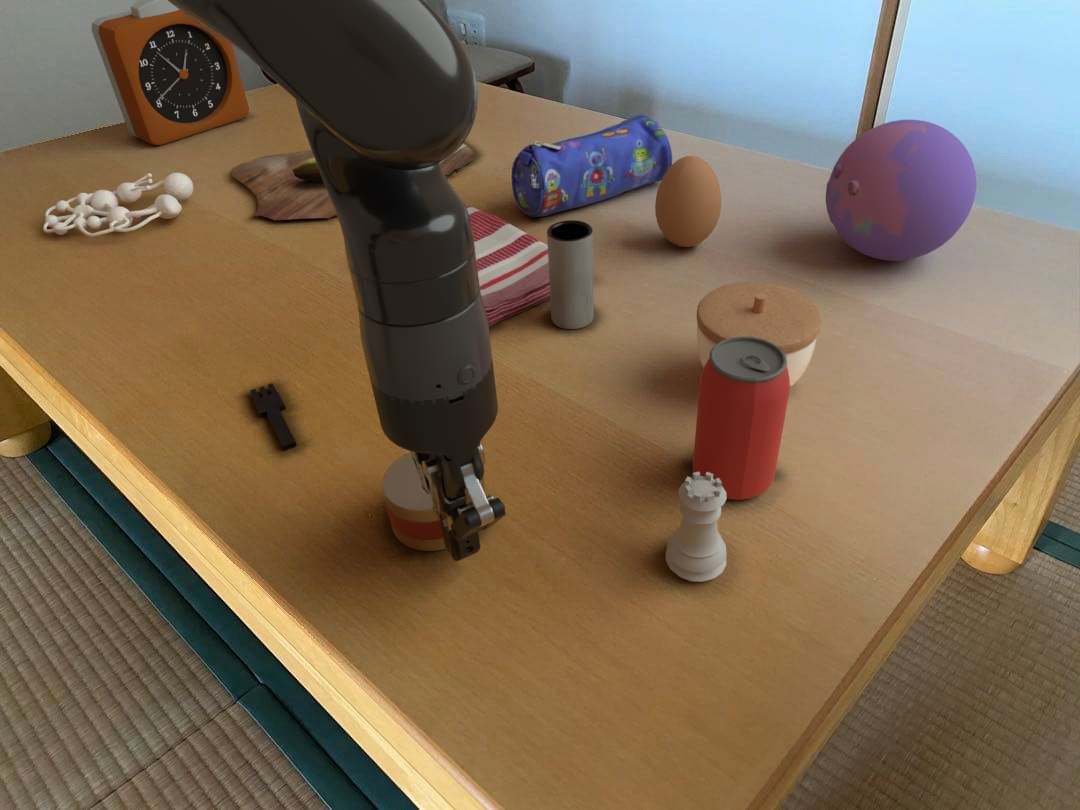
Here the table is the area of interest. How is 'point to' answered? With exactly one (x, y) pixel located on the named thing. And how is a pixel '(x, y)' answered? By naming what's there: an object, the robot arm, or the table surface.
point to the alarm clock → (169, 72)
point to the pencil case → (590, 167)
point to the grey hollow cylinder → (571, 273)
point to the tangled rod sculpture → (118, 216)
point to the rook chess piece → (698, 531)
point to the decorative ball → (901, 190)
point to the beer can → (741, 415)
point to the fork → (274, 414)
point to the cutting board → (304, 184)
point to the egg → (688, 202)
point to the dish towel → (508, 266)
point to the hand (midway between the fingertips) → (463, 550)
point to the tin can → (411, 507)
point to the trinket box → (760, 321)
